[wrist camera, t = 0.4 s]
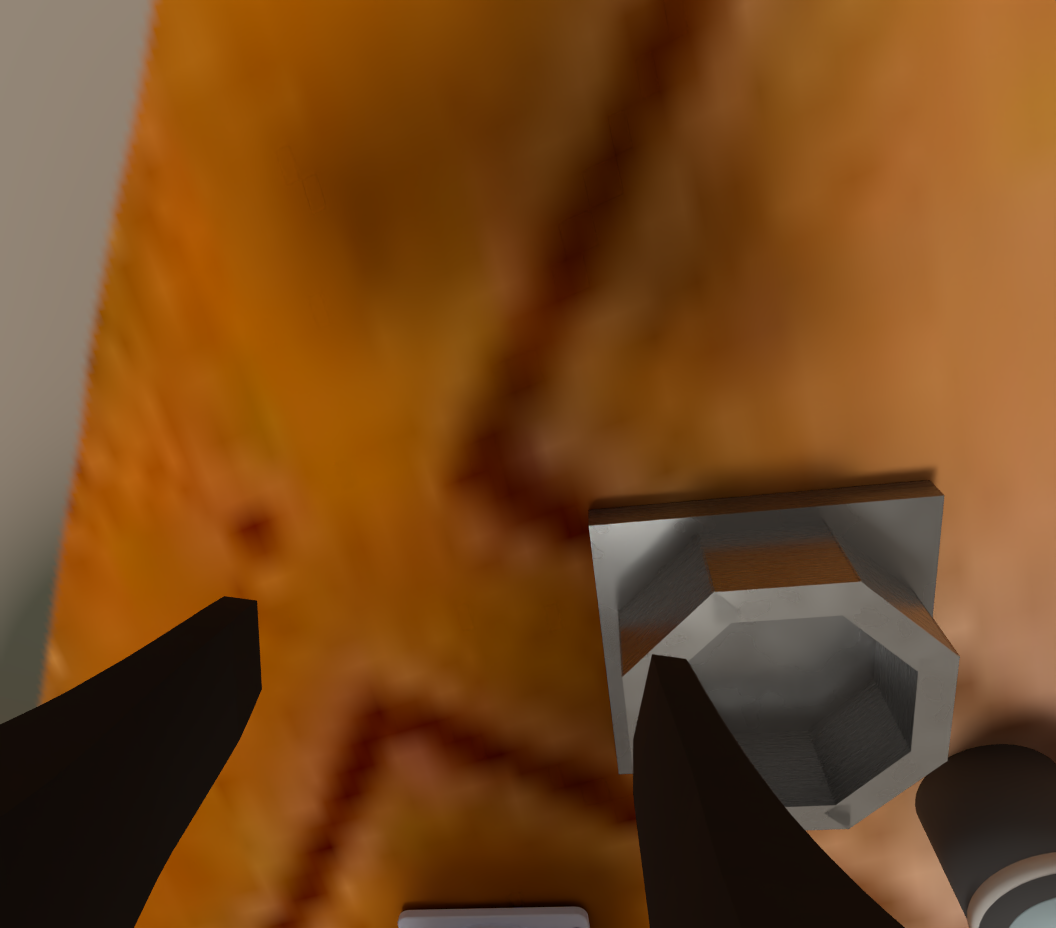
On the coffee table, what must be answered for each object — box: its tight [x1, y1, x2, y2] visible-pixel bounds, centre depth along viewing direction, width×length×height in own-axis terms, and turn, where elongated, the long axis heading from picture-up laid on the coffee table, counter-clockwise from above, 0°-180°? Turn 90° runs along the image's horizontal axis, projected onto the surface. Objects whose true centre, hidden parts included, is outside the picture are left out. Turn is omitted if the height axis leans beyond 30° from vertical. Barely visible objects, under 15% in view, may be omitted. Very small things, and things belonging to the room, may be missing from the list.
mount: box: [589, 480, 960, 830], centre depth 22 cm, size 10×10×4 cm
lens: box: [915, 744, 1056, 928], centre depth 24 cm, size 5×5×5 cm
